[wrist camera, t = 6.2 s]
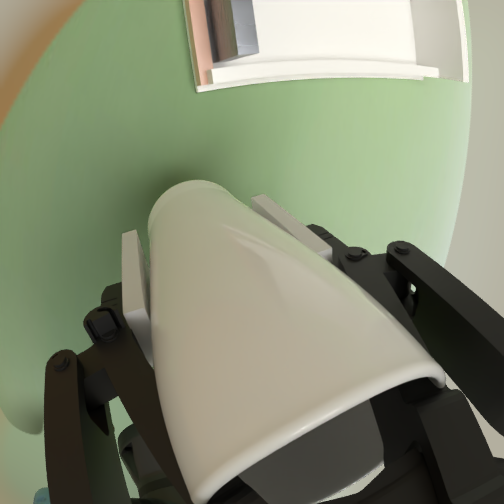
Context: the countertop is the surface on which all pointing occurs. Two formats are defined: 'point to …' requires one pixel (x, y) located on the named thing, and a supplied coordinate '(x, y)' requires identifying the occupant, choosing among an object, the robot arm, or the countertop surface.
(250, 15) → the pusher plate
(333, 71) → the pusher lane
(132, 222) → the countertop surface
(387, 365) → the white tumbler cup
